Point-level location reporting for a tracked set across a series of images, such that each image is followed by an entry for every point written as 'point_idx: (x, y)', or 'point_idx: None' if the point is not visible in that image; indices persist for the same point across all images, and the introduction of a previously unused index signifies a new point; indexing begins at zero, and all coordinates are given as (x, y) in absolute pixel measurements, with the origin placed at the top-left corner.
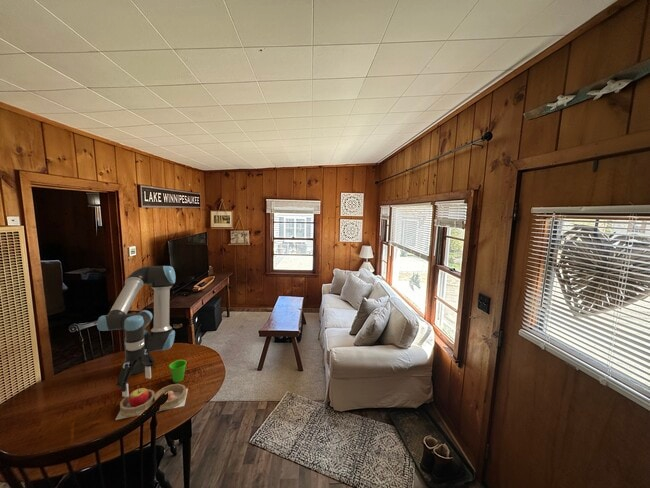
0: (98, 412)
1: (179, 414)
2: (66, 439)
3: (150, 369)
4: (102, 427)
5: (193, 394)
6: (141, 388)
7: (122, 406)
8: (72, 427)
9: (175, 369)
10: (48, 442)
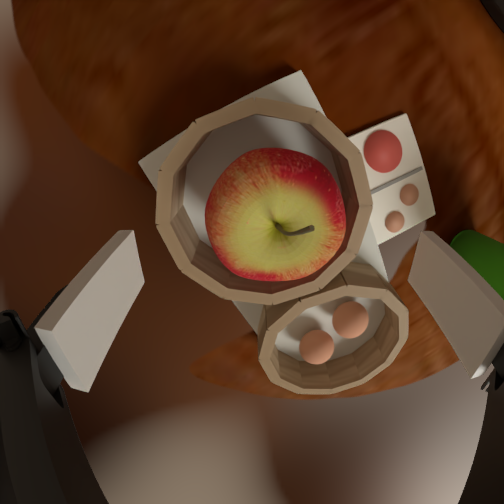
0: (187, 3)
1: (258, 377)
2: (37, 62)
3: (462, 349)
4: (104, 130)
5: None
6: (326, 224)
7: (170, 172)
8: (86, 6)
9: None
10: (26, 25)
